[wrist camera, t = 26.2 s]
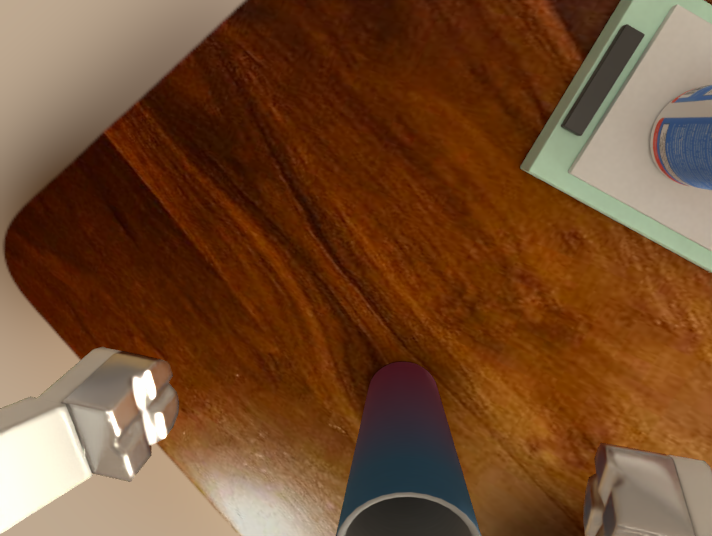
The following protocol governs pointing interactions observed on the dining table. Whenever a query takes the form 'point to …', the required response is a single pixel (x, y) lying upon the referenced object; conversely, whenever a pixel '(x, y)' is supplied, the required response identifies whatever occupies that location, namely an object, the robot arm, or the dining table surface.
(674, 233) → the scale
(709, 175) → the pill bottle
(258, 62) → the dining table surface
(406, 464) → the cup
